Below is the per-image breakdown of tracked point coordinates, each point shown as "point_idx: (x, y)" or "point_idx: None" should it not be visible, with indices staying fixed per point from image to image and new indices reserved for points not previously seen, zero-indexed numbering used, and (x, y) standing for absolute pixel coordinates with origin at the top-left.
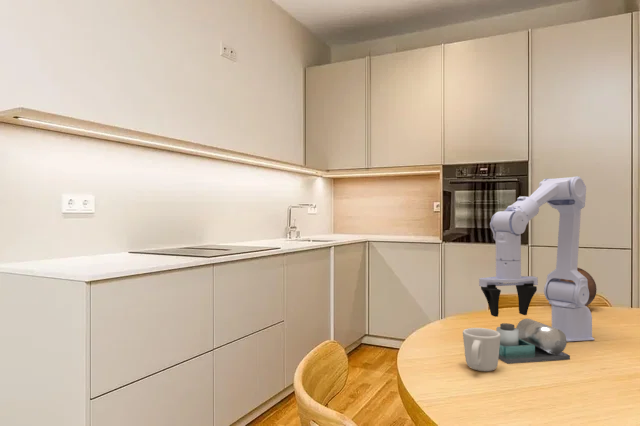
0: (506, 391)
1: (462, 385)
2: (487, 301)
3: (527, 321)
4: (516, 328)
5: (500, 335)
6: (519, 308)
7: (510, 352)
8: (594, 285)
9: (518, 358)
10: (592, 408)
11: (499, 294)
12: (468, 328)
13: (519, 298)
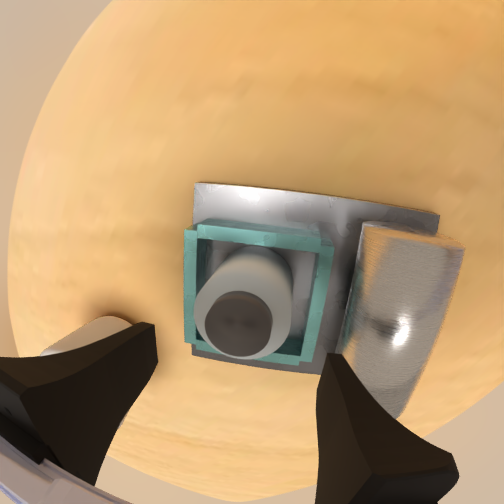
0: (127, 425)
1: None
2: (83, 347)
3: (404, 287)
4: (289, 326)
5: (118, 428)
6: (329, 373)
7: None
8: None
9: (227, 361)
10: (212, 485)
11: (98, 467)
12: (50, 353)
13: (342, 417)
